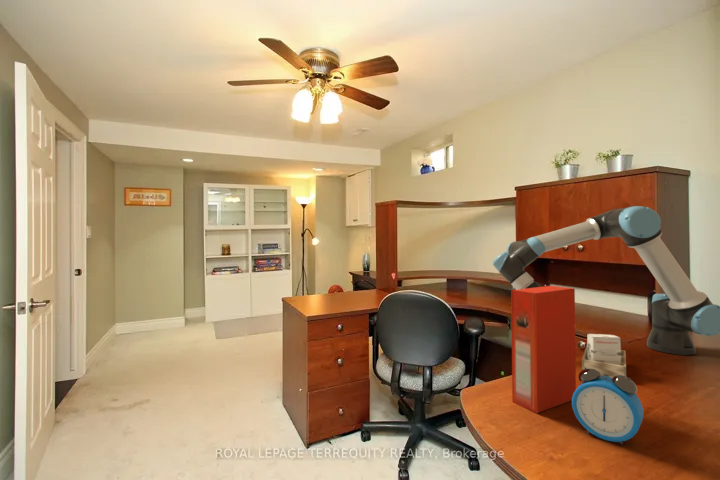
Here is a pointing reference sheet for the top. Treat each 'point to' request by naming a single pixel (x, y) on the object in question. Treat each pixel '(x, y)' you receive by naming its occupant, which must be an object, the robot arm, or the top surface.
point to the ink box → (604, 348)
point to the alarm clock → (607, 406)
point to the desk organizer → (605, 365)
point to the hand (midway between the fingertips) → (571, 332)
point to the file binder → (543, 347)
